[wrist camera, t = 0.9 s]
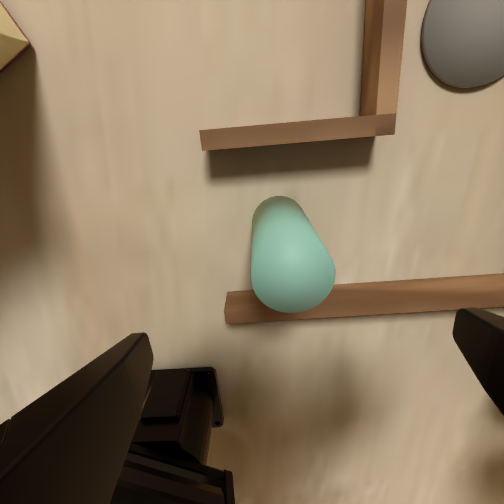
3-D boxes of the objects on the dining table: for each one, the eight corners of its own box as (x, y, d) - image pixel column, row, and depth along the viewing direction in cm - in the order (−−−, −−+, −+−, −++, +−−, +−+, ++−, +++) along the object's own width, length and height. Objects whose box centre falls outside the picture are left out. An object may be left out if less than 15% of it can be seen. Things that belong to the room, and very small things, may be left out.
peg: (305, 244, 20) (334, 310, 13) (254, 248, 20) (254, 315, 13) (304, 194, 19) (336, 234, 12) (250, 198, 19) (247, 240, 12)
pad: (524, 82, 16) (528, 82, 16) (414, 93, 17) (417, 92, 16) (557, -60, 14) (563, -63, 14) (430, -46, 14) (433, -49, 14)
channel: (518, 284, 21) (551, 303, 19) (228, 303, 22) (225, 323, 20) (631, -95, 14) (707, -141, 11) (184, -46, 15) (170, -79, 12)
